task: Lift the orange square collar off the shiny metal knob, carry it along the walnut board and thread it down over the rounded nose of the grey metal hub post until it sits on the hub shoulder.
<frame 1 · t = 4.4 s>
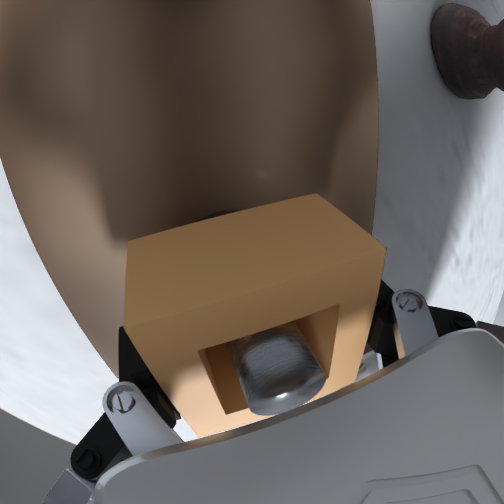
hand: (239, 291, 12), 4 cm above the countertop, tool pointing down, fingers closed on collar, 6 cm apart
shiny metal knob: (217, 241, 15), resting on board
board: (192, 101, 11), on the countertop
mortar and pestle: (463, 70, 14), on the countertop
collar: (239, 290, 12), point 4 cm above the countertop, touching gripper, shiny metal knob
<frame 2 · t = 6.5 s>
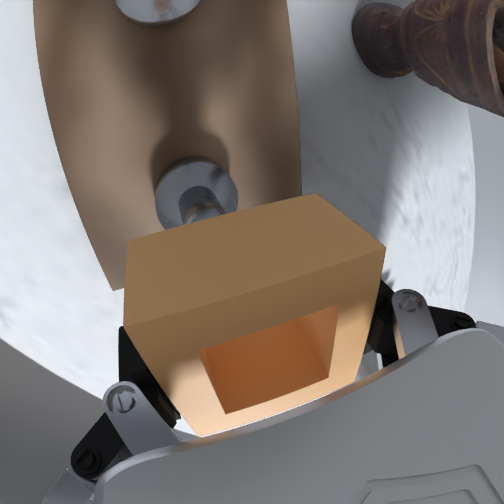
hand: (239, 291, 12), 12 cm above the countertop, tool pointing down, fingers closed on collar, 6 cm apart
shiny metal knob: (189, 183, 21), resting on board
board: (171, 90, 17), on the countertop
mortar and pestle: (389, 56, 20), on the countertop
collar: (239, 290, 12), point 12 cm above the countertop, touching gripper
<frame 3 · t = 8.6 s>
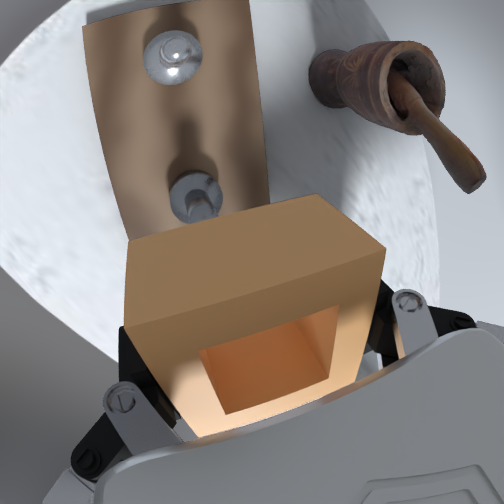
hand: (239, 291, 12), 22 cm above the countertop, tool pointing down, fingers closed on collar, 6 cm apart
shiny metal knob: (191, 187, 31), resting on board
hub: (170, 61, 24), resting on board
board: (180, 125, 28), on the countertop
mortar and pestle: (340, 90, 30), on the countertop
collar: (239, 291, 12), point 22 cm above the countertop, touching gripper
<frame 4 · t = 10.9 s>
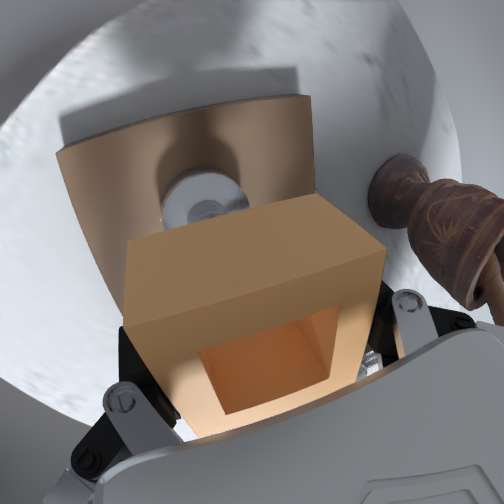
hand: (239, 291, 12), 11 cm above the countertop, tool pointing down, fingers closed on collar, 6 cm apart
hub: (197, 194, 20), resting on board
board: (214, 273, 24), on the countertop
mortar and pestle: (398, 202, 27), on the countertop
collar: (239, 290, 12), point 11 cm above the countertop, touching gripper
when the fingers open (5 cm above the countertop, at t = 12.8 s): collar drops 1 cm, resting on hub.
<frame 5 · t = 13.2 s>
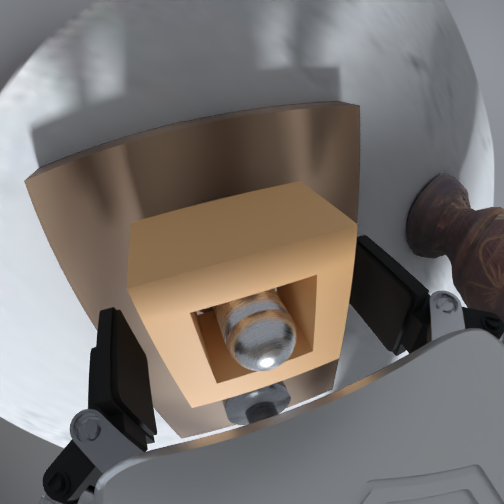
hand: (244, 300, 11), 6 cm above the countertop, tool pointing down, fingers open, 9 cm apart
shiny metal knob: (244, 371, 24), resting on board
hub: (211, 228, 16), resting on board
board: (231, 317, 20), on the countertop
mortar and pestle: (434, 226, 23), on the countertop
collar: (231, 270, 13), point 4 cm above the countertop, touching hub
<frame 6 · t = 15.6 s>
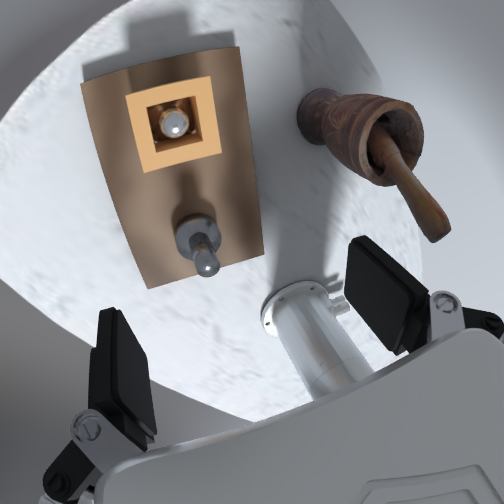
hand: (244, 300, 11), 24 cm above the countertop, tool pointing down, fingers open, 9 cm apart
shiny metal knob: (193, 225, 36), resting on board
hub: (168, 113, 28), resting on board
board: (180, 172, 32), on the countertop
mortar and pestle: (327, 126, 35), on the countertop
collar: (171, 118, 25), point 4 cm above the countertop, touching hub
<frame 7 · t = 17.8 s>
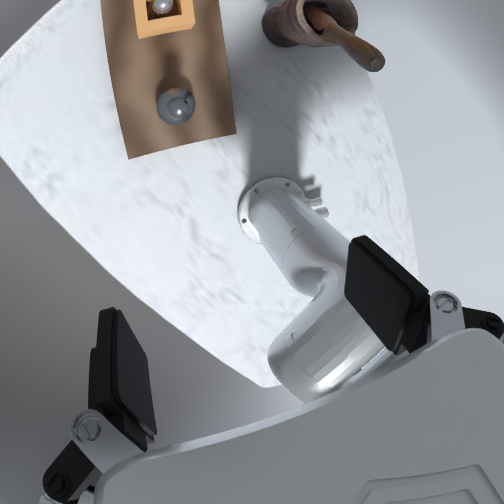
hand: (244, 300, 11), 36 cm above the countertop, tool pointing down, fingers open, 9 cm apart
shiny metal knob: (174, 104, 38), resting on board
hub: (160, 17, 30), resting on board
board: (167, 60, 34), on the countertop
mortar and pestle: (289, 35, 37), on the countertop
collar: (162, 11, 27), point 4 cm above the countertop, touching hub
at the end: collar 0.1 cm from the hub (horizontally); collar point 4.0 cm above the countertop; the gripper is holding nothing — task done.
